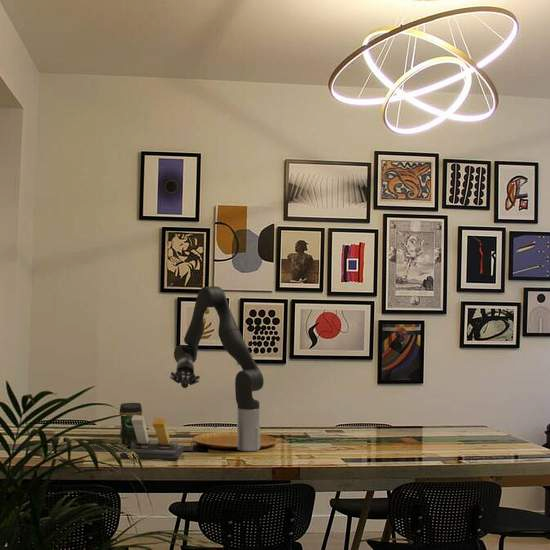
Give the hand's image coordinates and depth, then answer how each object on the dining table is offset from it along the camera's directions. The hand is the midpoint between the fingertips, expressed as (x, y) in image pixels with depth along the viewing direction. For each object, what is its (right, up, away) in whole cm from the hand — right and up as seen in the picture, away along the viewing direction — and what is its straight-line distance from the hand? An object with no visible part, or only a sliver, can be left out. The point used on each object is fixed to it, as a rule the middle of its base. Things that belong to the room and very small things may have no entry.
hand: (184, 386), depth 321 cm
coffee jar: (-24, -27, +8) cm, 37 cm away
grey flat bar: (-12, -27, -16) cm, 33 cm away
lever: (-16, -23, -6) cm, 29 cm away
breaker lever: (-7, -23, -7) cm, 25 cm away
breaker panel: (-11, -27, -7) cm, 30 cm away
